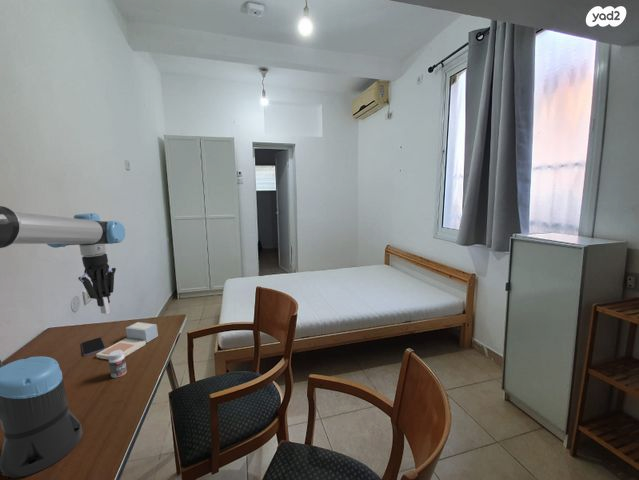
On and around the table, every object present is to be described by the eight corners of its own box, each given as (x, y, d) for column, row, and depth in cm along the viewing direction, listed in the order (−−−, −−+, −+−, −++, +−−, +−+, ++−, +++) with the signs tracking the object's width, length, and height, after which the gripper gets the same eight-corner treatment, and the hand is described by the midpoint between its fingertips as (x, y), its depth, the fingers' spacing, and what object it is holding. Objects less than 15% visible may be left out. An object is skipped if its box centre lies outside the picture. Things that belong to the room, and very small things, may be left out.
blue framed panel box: (146, 342, 125) (144, 330, 124) (127, 339, 128) (125, 327, 127) (158, 336, 131) (156, 324, 130) (139, 333, 134) (137, 321, 133)
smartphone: (101, 336, 132) (105, 348, 121) (101, 339, 132) (106, 350, 121) (80, 342, 127) (83, 355, 116) (81, 345, 128) (83, 357, 117)
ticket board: (117, 361, 113) (116, 357, 112) (96, 357, 116) (96, 353, 115) (145, 344, 125) (145, 340, 124) (126, 341, 128) (125, 337, 128)
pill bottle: (119, 378, 102) (115, 357, 100) (107, 377, 103) (104, 355, 101) (130, 370, 106) (126, 349, 105) (119, 369, 107) (115, 348, 106)
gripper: (83, 259, 102) (96, 321, 107) (118, 250, 114) (128, 306, 119) (68, 258, 104) (81, 319, 109) (103, 250, 116) (114, 305, 121)
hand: (105, 312), depth 114 cm, fingers closed
